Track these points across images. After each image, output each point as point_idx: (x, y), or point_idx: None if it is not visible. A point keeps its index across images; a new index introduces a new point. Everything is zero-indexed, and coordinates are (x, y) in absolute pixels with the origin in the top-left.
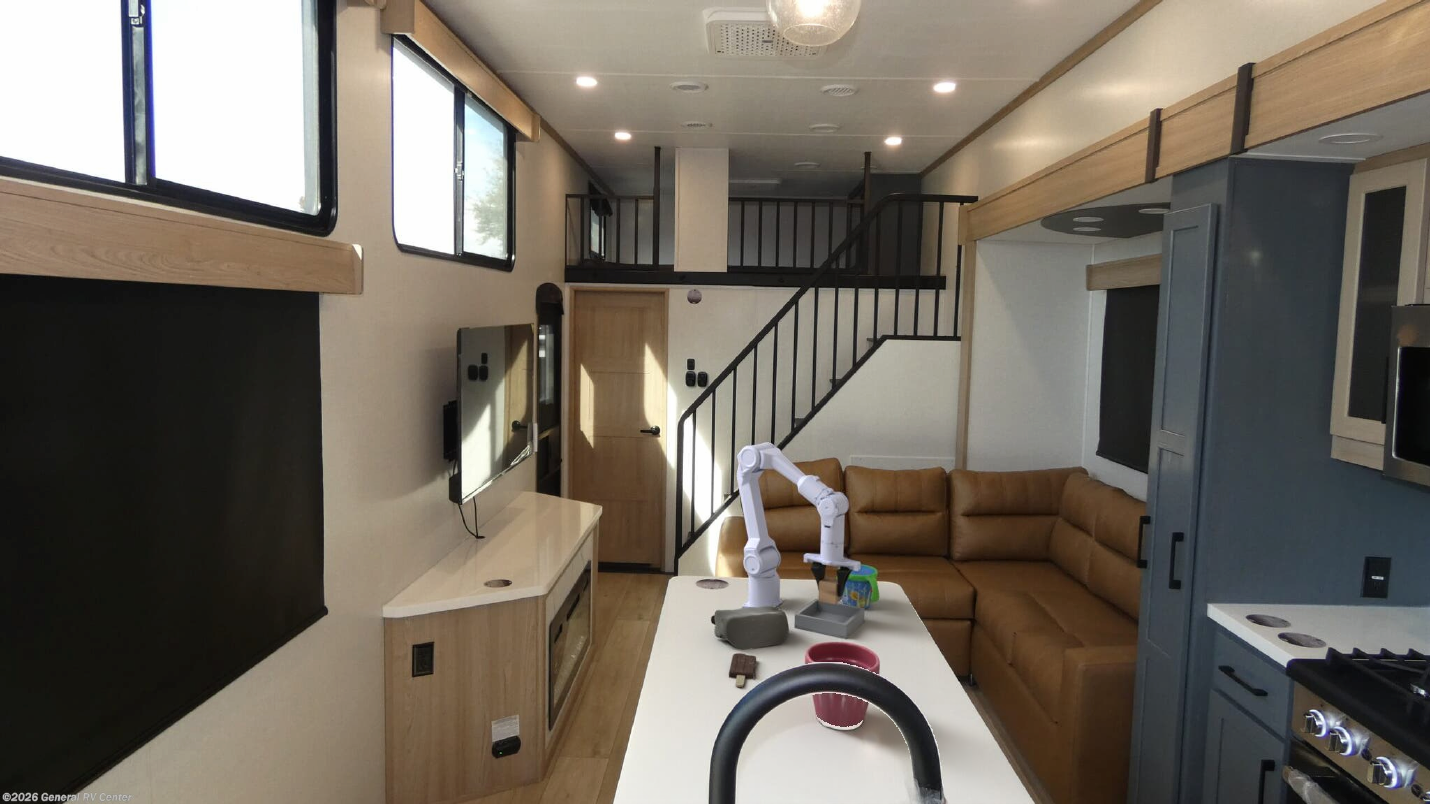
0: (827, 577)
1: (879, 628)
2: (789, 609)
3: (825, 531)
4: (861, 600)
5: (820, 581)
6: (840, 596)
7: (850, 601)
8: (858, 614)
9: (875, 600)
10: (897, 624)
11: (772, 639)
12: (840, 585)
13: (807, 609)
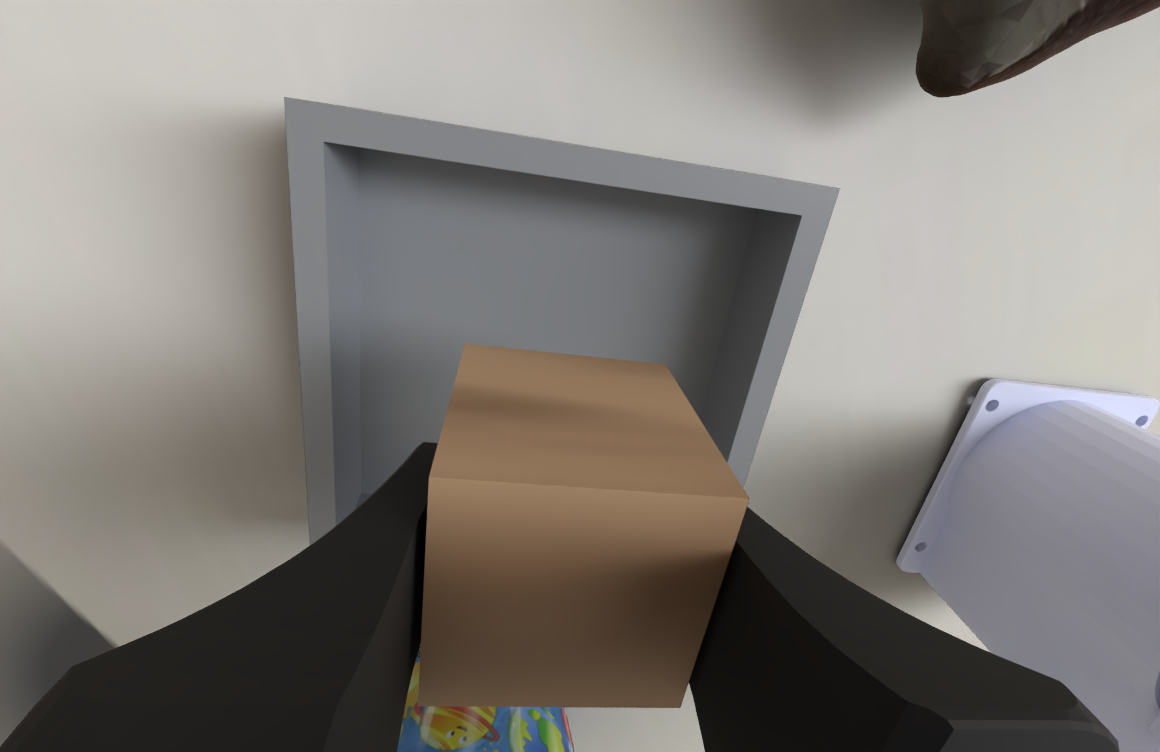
0: (653, 705)
1: (199, 433)
2: (845, 487)
3: None
4: (415, 695)
5: (727, 523)
6: (416, 448)
7: None
8: (306, 436)
9: None
10: (127, 543)
11: None
12: (365, 519)
13: (740, 391)
